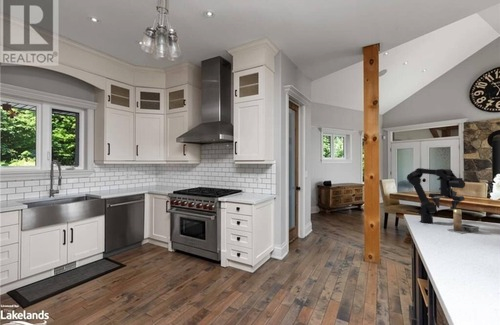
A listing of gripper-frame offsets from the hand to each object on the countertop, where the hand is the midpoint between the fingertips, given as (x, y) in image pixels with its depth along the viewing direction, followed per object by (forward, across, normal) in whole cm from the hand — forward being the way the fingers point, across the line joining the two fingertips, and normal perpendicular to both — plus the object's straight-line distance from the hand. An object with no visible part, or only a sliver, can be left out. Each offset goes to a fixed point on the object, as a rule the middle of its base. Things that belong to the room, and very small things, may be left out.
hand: (445, 209), depth 157 cm
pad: (+13, -8, +2) cm, 15 cm away
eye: (+13, -9, -6) cm, 17 cm away
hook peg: (+13, -8, +2) cm, 15 cm away
